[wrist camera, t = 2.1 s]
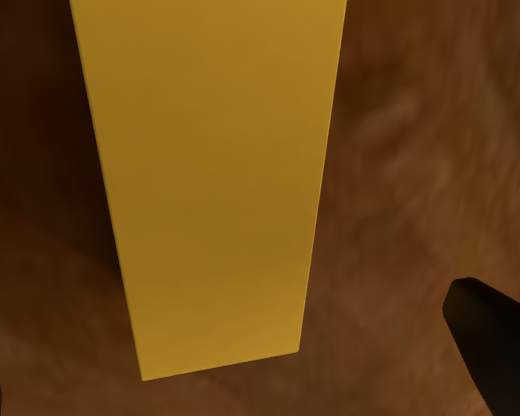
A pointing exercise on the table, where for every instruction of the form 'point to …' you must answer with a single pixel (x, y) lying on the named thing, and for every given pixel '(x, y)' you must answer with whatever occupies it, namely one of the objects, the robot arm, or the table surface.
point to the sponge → (211, 166)
